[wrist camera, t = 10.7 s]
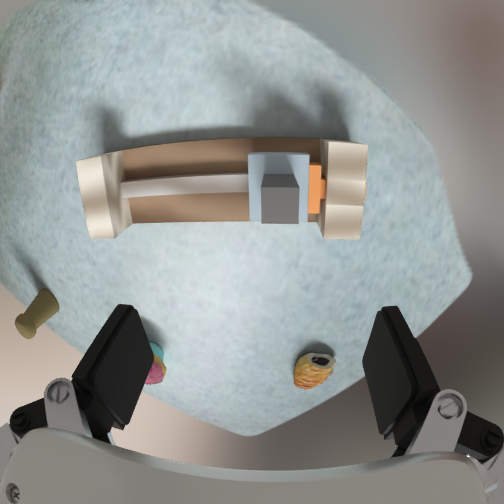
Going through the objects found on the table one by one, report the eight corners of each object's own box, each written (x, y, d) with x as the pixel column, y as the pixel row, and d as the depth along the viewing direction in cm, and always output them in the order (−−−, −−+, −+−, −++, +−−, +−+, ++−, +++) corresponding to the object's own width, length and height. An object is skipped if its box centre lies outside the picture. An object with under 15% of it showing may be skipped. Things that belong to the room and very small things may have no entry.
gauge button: (306, 162, 27) (309, 165, 25) (361, 165, 27) (368, 168, 25) (305, 206, 30) (307, 213, 27) (358, 208, 29) (364, 215, 27)
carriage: (251, 151, 29) (240, 162, 20) (305, 151, 28) (319, 163, 20) (252, 210, 32) (243, 245, 23) (303, 210, 31) (315, 246, 23)
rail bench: (104, 153, 31) (76, 161, 26) (350, 140, 29) (368, 145, 23) (114, 220, 36) (90, 238, 30) (345, 218, 33) (359, 239, 27)
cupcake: (178, 364, 48) (161, 413, 38) (143, 364, 50) (123, 408, 39) (160, 332, 45) (136, 384, 34) (124, 334, 46) (98, 379, 35)
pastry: (317, 383, 48) (318, 398, 45) (285, 379, 48) (285, 394, 45) (337, 353, 44) (340, 369, 41) (301, 347, 44) (302, 364, 41)
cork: (38, 284, 44) (7, 314, 34) (56, 294, 44) (26, 327, 34) (42, 305, 46) (16, 335, 37) (61, 315, 47) (34, 348, 37)
